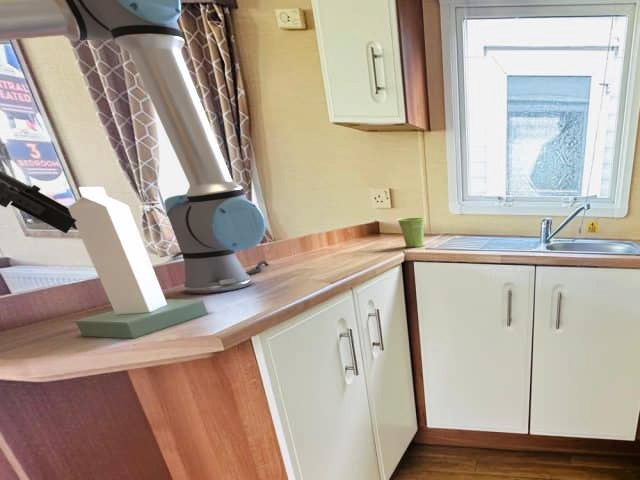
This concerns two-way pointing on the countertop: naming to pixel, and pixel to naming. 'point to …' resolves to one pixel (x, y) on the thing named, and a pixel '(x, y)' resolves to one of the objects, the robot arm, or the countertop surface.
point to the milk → (117, 252)
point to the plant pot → (412, 231)
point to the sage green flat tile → (141, 320)
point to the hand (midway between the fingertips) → (76, 225)
